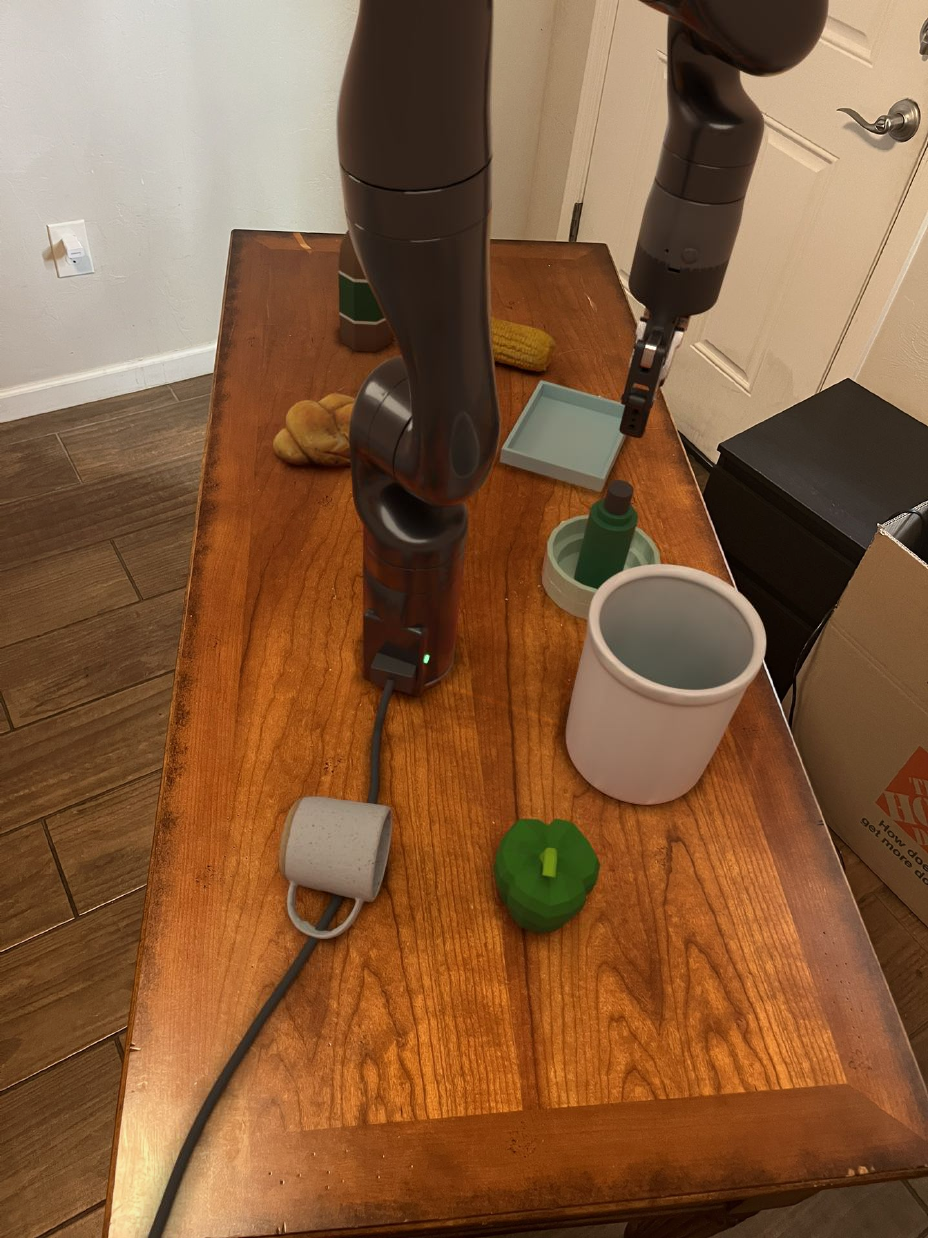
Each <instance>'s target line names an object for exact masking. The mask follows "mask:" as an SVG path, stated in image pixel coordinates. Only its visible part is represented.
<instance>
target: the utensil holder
mask: <svg viewBox="0 0 928 1238" xmlns="http://www.w3.org/2000/svg"><path fill="white" fill-rule="evenodd" d="M764 626H765V625H764V623H763V621H762V619H761V617H760V615H759V613H758V612H757V610H756V609H755V608H754V605H752V603H751V602H750V601H749V599H748V598H747V597H746V596H744V595H743V594H742V593H741V592H740V591H739V590H737V589H736V588H735V587H734V586H732V585H731V584H729V583H728V582H726V581H724V580H723V579H721V578H719V577H717V576H715V575H713V574H711V573H708V572H706V571H703V570H700V569H697V568H693V567H689V566H685V565H677V564H667V563H661V564H653V565H643V566H638V567H633V568H630V569H627V570H624V571H622V572H620V573H617V574H616V575H614V576H612V577H611V578H609V579H608V580H607V581H606V582H604V583H603V584H602V585H601V586H600V587H599V589H598V590H597V592H596V593H595V594H594V596H593V598H592V601H591V604H590V607H589V611H588V617H587V620H586V634H585V639H584V643H583V647H582V650H581V655H580V659H579V664H578V668H577V672H576V676H575V680H574V684H573V688H572V694H571V699H570V703H569V708H568V713H567V719H566V726H565V745H566V748H567V752H568V755H569V757H570V760H571V762H572V764H573V766H574V767H575V769H576V770H577V772H579V774H580V775H581V776H582V778H584V779H585V781H587V783H589V784H590V785H591V786H592V787H594V788H595V789H597V790H598V791H599V792H601V793H602V794H605V795H606V796H608V797H611V798H613V799H615V800H617V801H621V802H625V803H628V804H629V803H630V804H634V805H641V806H643V805H645V806H648V805H649V806H650V805H659V804H665V803H668V802H672V801H674V800H676V799H679V798H680V797H682V796H684V795H685V794H687V793H688V792H689V791H690V790H691V789H692V788H694V786H695V785H697V783H698V781H699V780H700V778H701V777H702V775H703V774H704V772H705V770H706V768H707V766H708V765H709V763H710V762H711V760H712V758H713V756H714V754H715V752H716V750H717V749H718V746H719V744H720V743H721V741H722V739H723V736H724V734H725V732H726V730H727V728H728V726H729V724H730V722H731V721H732V718H733V716H734V714H735V712H736V710H737V708H738V707H739V705H740V703H741V700H742V699H743V697H744V695H745V693H746V691H747V688H748V687H749V685H751V683H752V682H753V681H754V680H755V678H756V677H757V675H758V673H759V672H760V670H761V668H762V665H763V663H764V659H765V656H766V651H767V634H766V630H765V627H764Z"/></svg>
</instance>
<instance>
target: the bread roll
mask: <svg viewBox="0 0 928 1238" xmlns="http://www.w3.org/2000/svg"><path fill="white" fill-rule="evenodd" d="M355 399H356V398H354V397H352V396H350V395H347V394H341V393H338V392H332V393H330V394H328V395H326V396H325V397H323V398H322V399H320V400H318V402H317V401H314V400H311V399H305V400H301V401H298V402H296V403H295V404H294V405H292V406H291V407H290V408H289V410H288V412H287V413H286V416H285V427H284V428H282V429H280V431H279V432H278V433H277V434H276V435H275V437H274V439H273V441H272V442H273V443H272V447H273V450H274V453H275V455H276V456H277V457H278V458H279V459H280V460H281V461H283V462H286V463H288V464H290V465H295V466H306V465H307V466H309V465H313V464H316V465H319V466H324V467H347V466H351V464H350V450H349V426H350V418H351V412H352V408H353V405H354V402H355Z"/></svg>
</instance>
